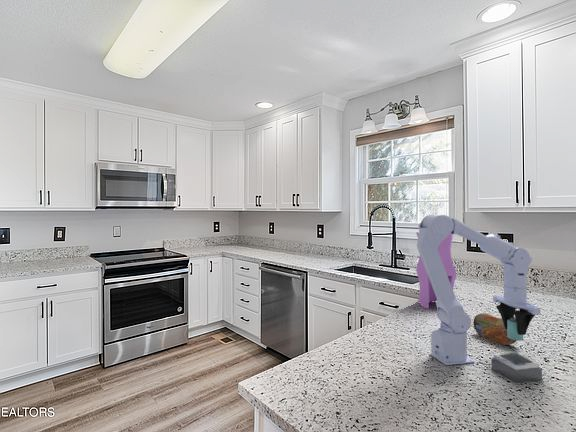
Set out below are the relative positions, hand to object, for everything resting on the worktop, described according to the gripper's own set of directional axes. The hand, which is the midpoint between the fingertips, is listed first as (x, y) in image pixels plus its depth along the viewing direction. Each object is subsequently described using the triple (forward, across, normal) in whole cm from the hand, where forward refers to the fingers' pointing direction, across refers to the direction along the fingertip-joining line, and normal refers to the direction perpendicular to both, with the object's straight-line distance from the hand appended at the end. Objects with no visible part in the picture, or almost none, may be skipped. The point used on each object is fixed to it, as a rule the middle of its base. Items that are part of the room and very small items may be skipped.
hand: (515, 331), depth 98 cm
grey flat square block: (+8, -8, +8) cm, 14 cm away
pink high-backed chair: (+8, +58, -13) cm, 60 cm away
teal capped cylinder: (+2, 0, 0) cm, 2 cm away
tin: (+9, +14, -6) cm, 17 cm away
